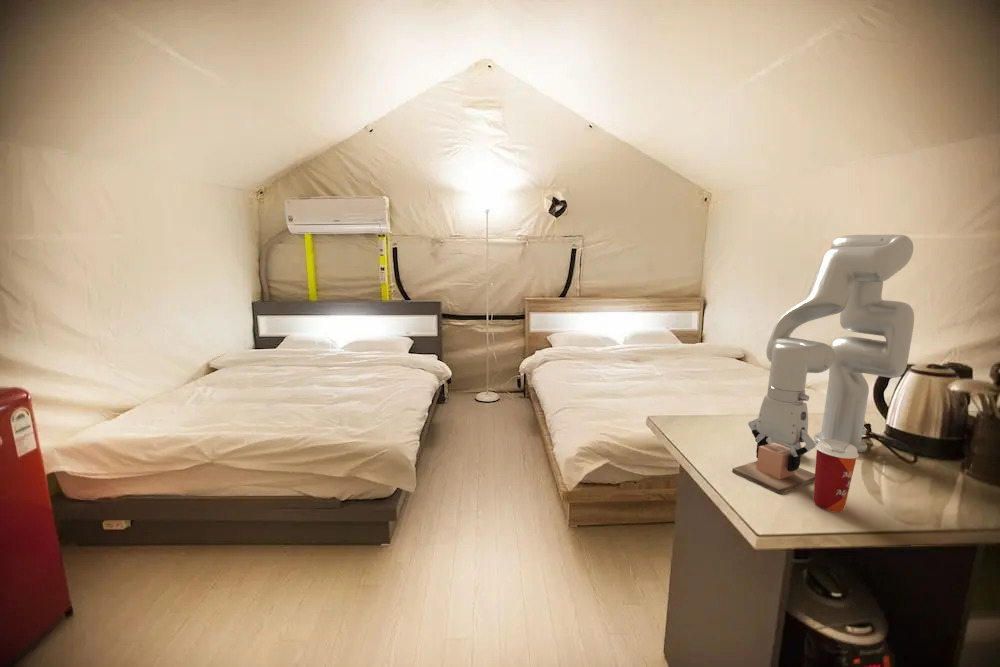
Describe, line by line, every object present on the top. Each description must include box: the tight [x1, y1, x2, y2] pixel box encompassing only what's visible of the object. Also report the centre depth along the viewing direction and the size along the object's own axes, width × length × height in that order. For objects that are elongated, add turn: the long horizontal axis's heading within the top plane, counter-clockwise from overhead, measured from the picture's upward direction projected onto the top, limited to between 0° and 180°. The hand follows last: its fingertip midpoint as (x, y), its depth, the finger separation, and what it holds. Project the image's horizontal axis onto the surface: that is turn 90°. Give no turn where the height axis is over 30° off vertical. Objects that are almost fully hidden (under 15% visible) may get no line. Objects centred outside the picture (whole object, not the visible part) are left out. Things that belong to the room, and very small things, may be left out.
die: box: [766, 437, 789, 448], centre depth 133 cm, size 8×9×10 cm
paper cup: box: [813, 439, 860, 513], centre depth 104 cm, size 8×8×14 cm
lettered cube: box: [756, 443, 795, 479], centre depth 118 cm, size 6×6×6 cm
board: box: [731, 460, 815, 494], centre depth 118 cm, size 16×12×1 cm
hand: (776, 463), depth 118 cm, fingers open, 7 cm apart
